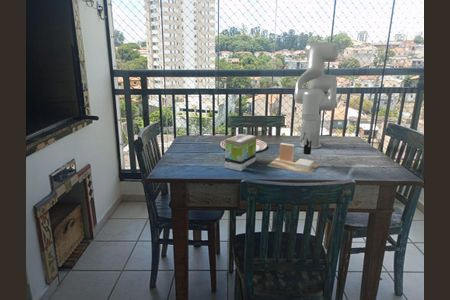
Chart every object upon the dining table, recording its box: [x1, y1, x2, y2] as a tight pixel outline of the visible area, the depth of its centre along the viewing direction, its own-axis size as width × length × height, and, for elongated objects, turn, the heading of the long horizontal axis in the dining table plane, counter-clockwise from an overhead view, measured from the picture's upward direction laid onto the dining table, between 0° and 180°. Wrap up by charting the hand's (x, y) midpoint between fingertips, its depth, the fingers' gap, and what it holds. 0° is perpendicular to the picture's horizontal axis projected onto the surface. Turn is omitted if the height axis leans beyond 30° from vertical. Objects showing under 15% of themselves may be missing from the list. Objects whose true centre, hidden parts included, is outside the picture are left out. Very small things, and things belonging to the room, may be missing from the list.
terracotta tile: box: [278, 142, 296, 162], centre depth 166 cm, size 2×7×8 cm, turn 60°
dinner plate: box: [220, 138, 268, 153], centre depth 191 cm, size 27×27×3 cm
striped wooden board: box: [266, 156, 320, 175], centre depth 161 cm, size 16×22×1 cm
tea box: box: [224, 133, 257, 172], centre depth 161 cm, size 15×10×15 cm
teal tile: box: [294, 158, 315, 171], centre depth 157 cm, size 2×7×8 cm
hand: (307, 153), depth 159 cm, fingers closed
